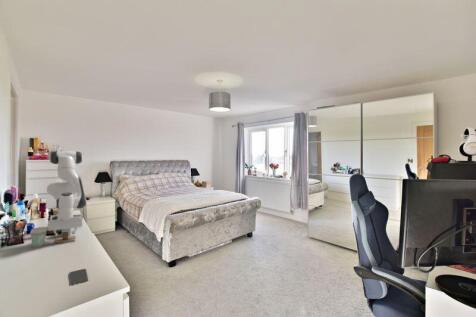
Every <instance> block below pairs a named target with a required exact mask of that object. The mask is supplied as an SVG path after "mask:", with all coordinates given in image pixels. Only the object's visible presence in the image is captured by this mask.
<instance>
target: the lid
mask: <svg viewBox="0 0 476 317" xmlns="http://www.w3.org/2000/svg"><path fill="white" fill-rule="evenodd" d="M61 236H62V237H57V238H55V239H56V240H55V239H54V242H55V243H54V242H53V244H57V245H60V244H59V243H64V244H67V243H66V242H71V243H74V242H73V241H74V239H75V240H76V238H75V235H71V236H68V231H66V232H63V234H62V233H61Z"/></svg>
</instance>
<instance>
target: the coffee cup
mask: <svg viewBox="0 0 476 317" xmlns="http://www.w3.org/2000/svg"><path fill="white" fill-rule="evenodd" d="M46 231H47V226H41V227H40V226H39V227H34V228H32V229H31V230H30V232H29V233H30V239H31V246H32V248H33V249H36V248H40V247H44V246H45V241H46V238H47V237H46V235H47V234H46Z"/></svg>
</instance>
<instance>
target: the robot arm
mask: <svg viewBox="0 0 476 317" xmlns="http://www.w3.org/2000/svg"><path fill="white" fill-rule="evenodd" d="M48 155H49V156H48V159H49V161H50V163H51V164H54V165H57V171H56V172H57V177H58V178H59V179H60V180H62V181H61V182H53V183H49V184H48V185H47V187H46V192H47V194H48V195H50V196H52V197H53V198H54V199H55V201H56V205H55V208H56V210H59V211H58V214H56V215H53V216H51V217H50V221H49V222H47V226H46V229H47V230H48V231H52V230H54V233H55V234H54V235H55V237H59V233H56V230H61V229H69V228H74V229H75V230H74V231H72V234H74V235H76V234H75V231H76V229H77V227H78V228H82V227H83V224H84V223H83V220H84V215H83V214H74V210H75V209H76V210H77V209H83V208H84V207H86V205H87V197H86V195H85V191H84V184H83V182H82V178H81V176H80V175H78V174H77V172H76V165H79V164H81V163H82V162H83V160H84V155H83V154H82V152H81V151H74V150H66V151H65V150H59V151H57V150H54V151H50V153H49V154H48Z"/></svg>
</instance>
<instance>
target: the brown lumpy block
mask: <svg viewBox="0 0 476 317" xmlns="http://www.w3.org/2000/svg"><path fill="white" fill-rule="evenodd" d="M58 211H59V210H57V209H55V210H54V209H53V208H51V209H50V210H49V211H48V212H47V214H48V217H47V220H48V222H49V221H50V217H51V216H53V215H56V214H58ZM48 222H47V223H48ZM56 233H58V234H62V229H61V230H56ZM46 235H50V236H53V235H55V233H54V230H52V231H48V230H47V231H46Z"/></svg>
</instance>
